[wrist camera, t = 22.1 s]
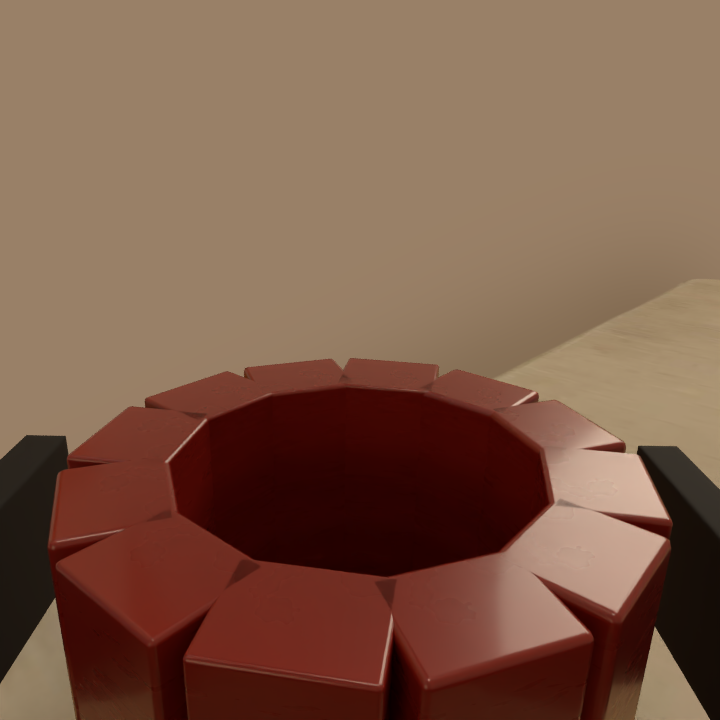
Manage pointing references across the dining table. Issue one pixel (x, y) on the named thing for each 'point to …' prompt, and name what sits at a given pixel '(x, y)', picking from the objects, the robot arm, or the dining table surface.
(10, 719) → the dining table surface
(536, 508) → the ring
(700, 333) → the dining table surface
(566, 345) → the dining table surface
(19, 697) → the dining table surface
